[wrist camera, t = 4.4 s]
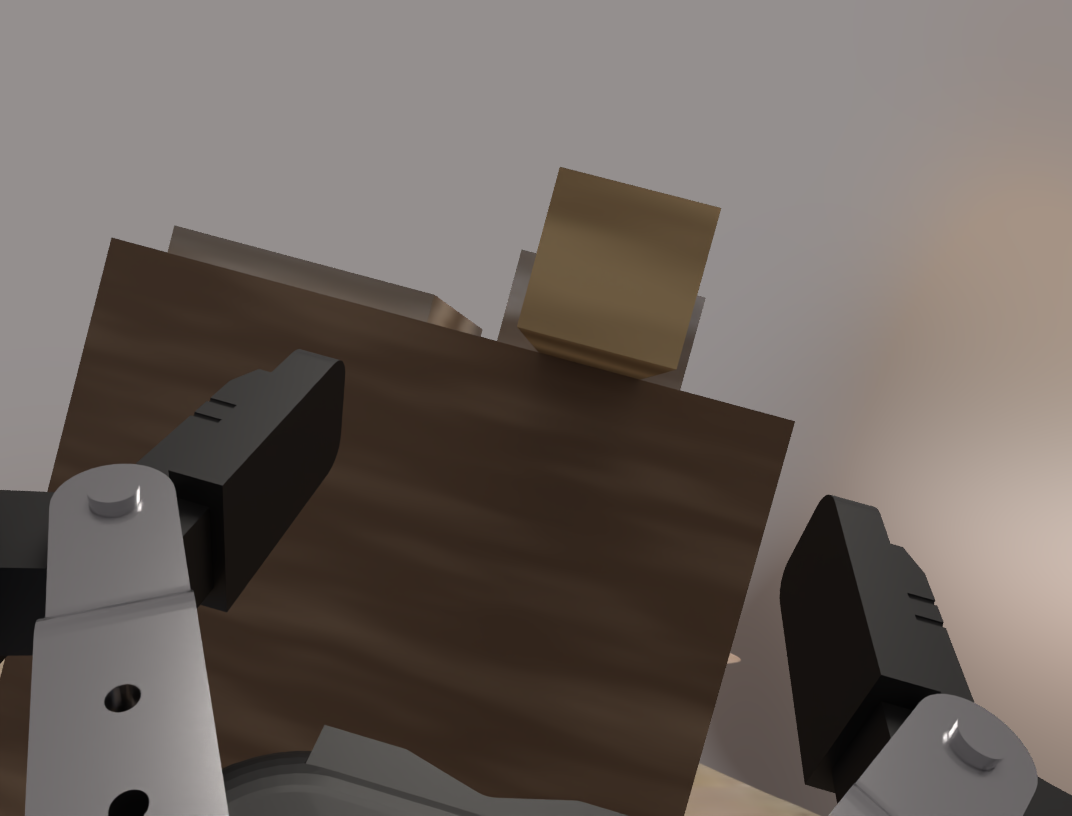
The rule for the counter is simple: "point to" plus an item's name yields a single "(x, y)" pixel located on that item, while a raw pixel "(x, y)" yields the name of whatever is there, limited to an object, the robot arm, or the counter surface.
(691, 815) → the counter surface
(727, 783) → the counter surface
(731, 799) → the counter surface
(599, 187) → the wood block with plate
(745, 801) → the counter surface
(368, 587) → the zigzag wood block
